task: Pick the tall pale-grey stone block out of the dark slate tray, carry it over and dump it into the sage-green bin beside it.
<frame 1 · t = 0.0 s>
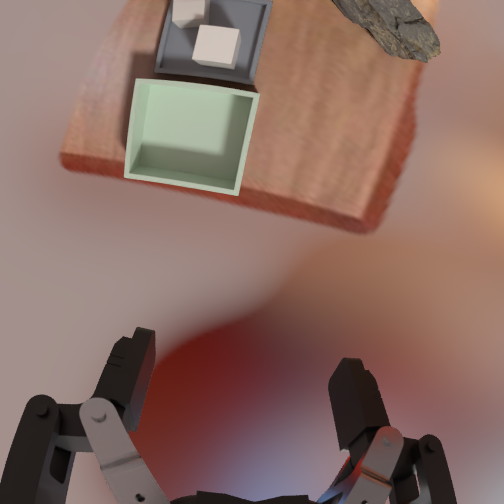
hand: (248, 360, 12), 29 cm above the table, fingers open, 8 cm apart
slate tray: (213, 35, 28), on the table
stone a: (221, 52, 29), point 1 cm above the table, touching slate tray
green bin: (193, 131, 34), on the table
stone b: (195, 13, 26), point 1 cm above the table, touching slate tray
rock: (374, 16, 27), on the table
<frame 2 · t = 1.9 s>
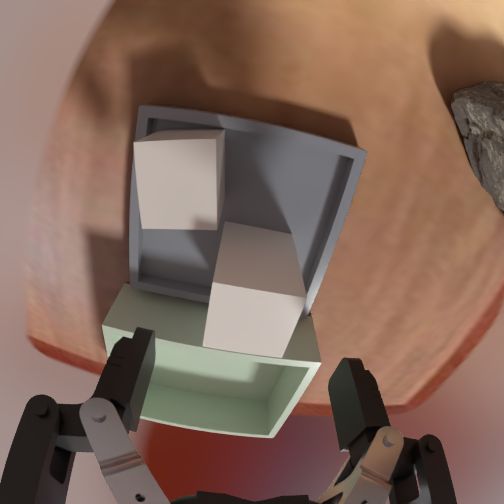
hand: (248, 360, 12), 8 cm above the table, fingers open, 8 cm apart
slate tray: (234, 214, 18), on the table
stone a: (251, 256, 18), point 1 cm above the table, touching slate tray
green bin: (208, 354, 24), on the table
stone b: (193, 164, 16), point 1 cm above the table, touching slate tray
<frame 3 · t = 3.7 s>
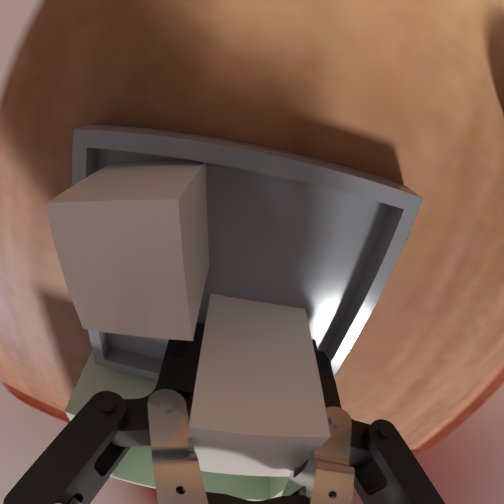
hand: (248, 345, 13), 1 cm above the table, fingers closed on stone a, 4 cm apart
slate tray: (224, 282, 12), on the table
stone a: (249, 335, 13), point 1 cm above the table, touching gripper, slate tray
green bin: (199, 423, 18), on the table
stone b: (159, 215, 10), point 1 cm above the table, touching slate tray
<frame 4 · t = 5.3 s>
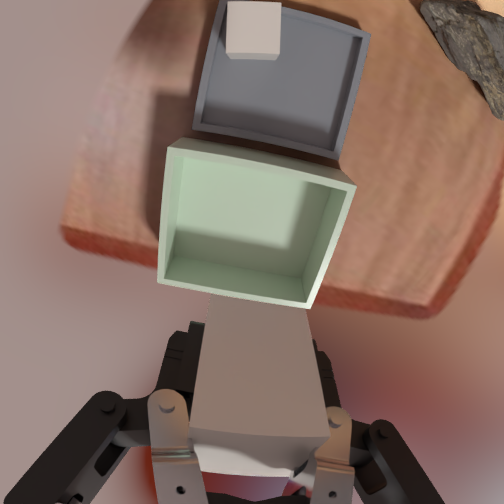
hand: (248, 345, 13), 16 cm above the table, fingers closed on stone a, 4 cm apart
slate tray: (281, 75, 21), on the table
stone a: (249, 335, 13), point 16 cm above the table, touching gripper
green bin: (249, 214, 27), on the table
stone b: (253, 36, 19), point 1 cm above the table, touching slate tray
rock: (474, 58, 18), on the table
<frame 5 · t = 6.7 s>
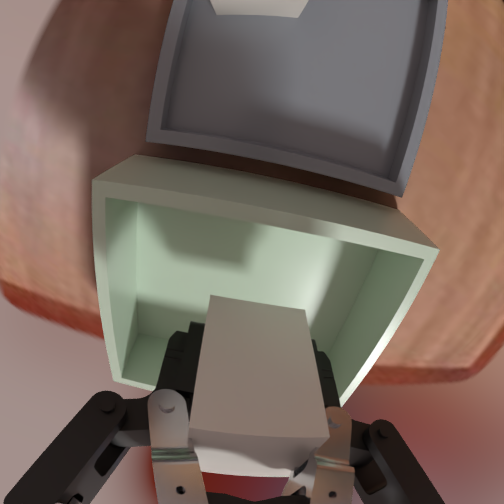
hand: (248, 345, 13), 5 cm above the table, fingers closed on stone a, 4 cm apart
slate tray: (306, 44, 11), on the table
stone a: (249, 336, 13), point 4 cm above the table, touching gripper
green bin: (249, 280, 17), on the table
when the fingers open (5 cm above the table, at t = 7.4 s): stone a drops 3 cm, resting on green bin.
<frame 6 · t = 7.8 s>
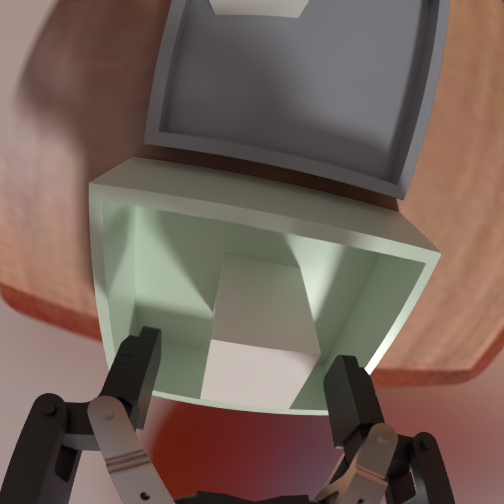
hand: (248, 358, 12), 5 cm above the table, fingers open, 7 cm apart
slate tray: (307, 45, 11), on the table
stone a: (254, 291, 16), point 1 cm above the table, touching green bin
green bin: (249, 283, 17), on the table
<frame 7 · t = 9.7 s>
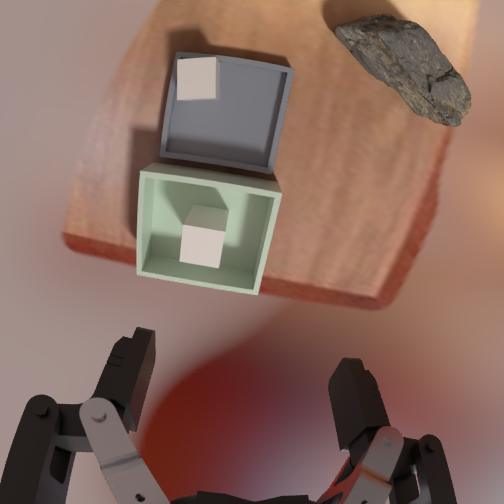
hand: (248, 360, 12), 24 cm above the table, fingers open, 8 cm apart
slate tray: (225, 110, 29), on the table
stone a: (208, 223, 34), point 1 cm above the table, touching green bin
green bin: (207, 220, 34), on the table
stone b: (202, 81, 26), point 1 cm above the table, touching slate tray
rock: (397, 65, 26), on the table
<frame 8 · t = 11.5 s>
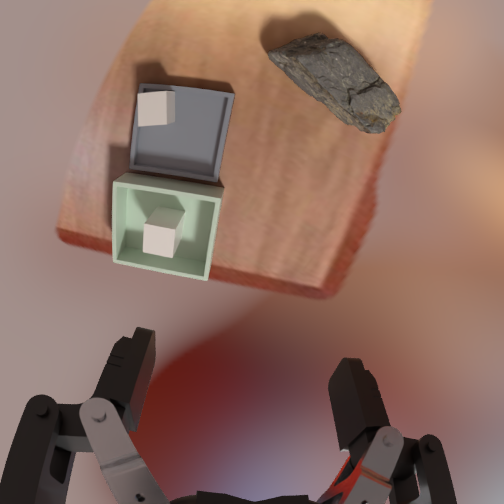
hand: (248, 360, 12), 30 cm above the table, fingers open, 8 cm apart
slate tray: (180, 130, 35), on the table
stone a: (169, 221, 41), point 1 cm above the table, touching green bin
green bin: (169, 219, 41), on the table
stone b: (161, 107, 33), point 1 cm above the table, touching slate tray
rock: (331, 79, 32), on the table
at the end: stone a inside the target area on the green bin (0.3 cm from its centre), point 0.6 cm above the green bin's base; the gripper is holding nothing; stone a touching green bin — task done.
